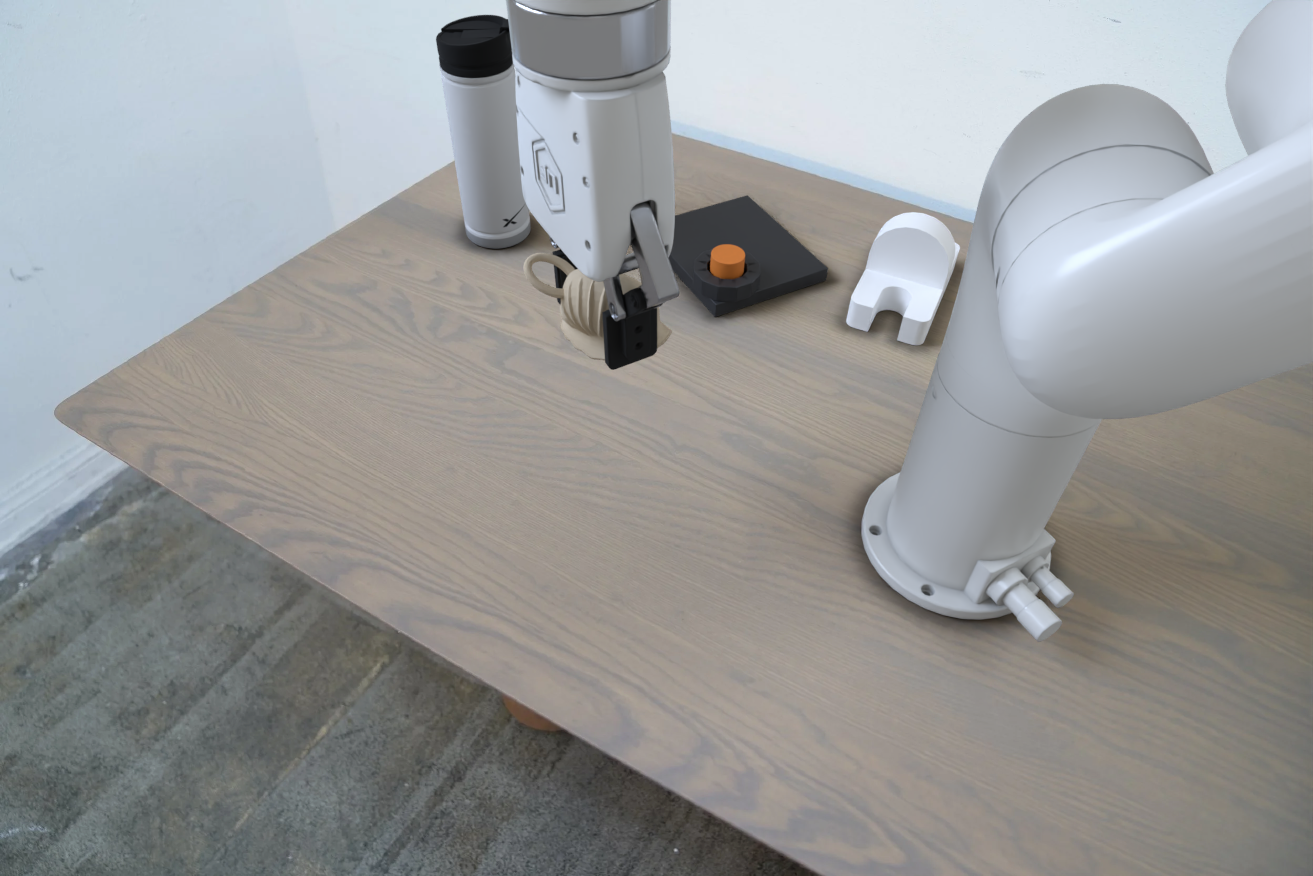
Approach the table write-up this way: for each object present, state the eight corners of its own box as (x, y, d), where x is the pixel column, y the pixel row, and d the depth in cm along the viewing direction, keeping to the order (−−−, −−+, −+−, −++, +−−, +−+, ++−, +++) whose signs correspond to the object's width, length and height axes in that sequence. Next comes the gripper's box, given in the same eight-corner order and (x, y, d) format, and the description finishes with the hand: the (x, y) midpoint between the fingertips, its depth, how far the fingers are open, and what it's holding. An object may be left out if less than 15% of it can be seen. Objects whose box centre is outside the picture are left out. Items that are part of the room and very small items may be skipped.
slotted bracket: (921, 347, 77) (944, 272, 71) (843, 324, 79) (859, 250, 73) (954, 267, 85) (977, 194, 79) (883, 248, 87) (900, 175, 81)
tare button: (750, 274, 79) (751, 258, 78) (720, 284, 78) (722, 267, 77) (732, 257, 81) (733, 240, 80) (703, 265, 80) (704, 249, 79)
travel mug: (530, 250, 86) (508, 38, 71) (461, 249, 86) (425, 36, 71) (537, 214, 90) (518, 8, 76) (472, 213, 90) (440, 6, 76)
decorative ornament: (650, 374, 53) (650, 301, 49) (524, 340, 55) (514, 268, 51) (675, 333, 56) (676, 261, 52) (553, 302, 58) (546, 231, 54)
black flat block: (829, 283, 83) (834, 256, 81) (713, 321, 79) (715, 294, 77) (746, 206, 92) (749, 180, 90) (638, 237, 88) (638, 211, 85)
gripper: (449, -19, 46) (495, 273, 59) (601, 122, 35) (616, 439, 48) (582, -44, 48) (597, 241, 61) (760, 80, 38) (733, 392, 51)
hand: (605, 326), depth 55 cm, fingers closed on decorative ornament, 5 cm apart
